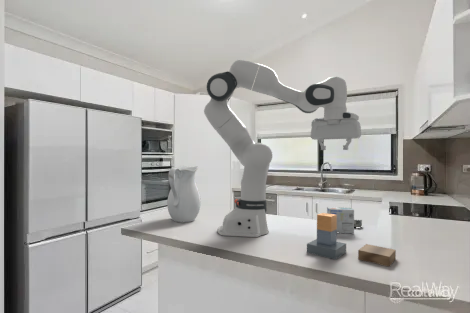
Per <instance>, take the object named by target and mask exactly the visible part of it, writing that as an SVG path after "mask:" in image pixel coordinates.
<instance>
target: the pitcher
mask: <svg viewBox="0 0 470 313" xmlns="http://www.w3.org/2000/svg"><path fill="white" fill-rule="evenodd" d="M198 169H199V167H198V166H185V165H180V166H178V167H171V168H170V169H169V170H168V184H169V187H170V190H169V193H168V196H167V206H166V207H167V211H168V214H169V216H170V218H171V220H172V221H173V222H176V223H190V222H193V221H195V220H196V218H198V214H199V213H200V210H201V204H202V203H201V202H202V201H201V194H200V190H199V188H198V185H197V182H196V176H195V175H196V172H197V170H198Z"/></svg>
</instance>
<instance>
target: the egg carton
mask: <svg viewBox="0 0 470 313" xmlns="http://www.w3.org/2000/svg"><path fill="white" fill-rule="evenodd" d="M362 225H363V219H354V227H361V226H362ZM362 227H363V226H362ZM362 227H361V228H362Z"/></svg>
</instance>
